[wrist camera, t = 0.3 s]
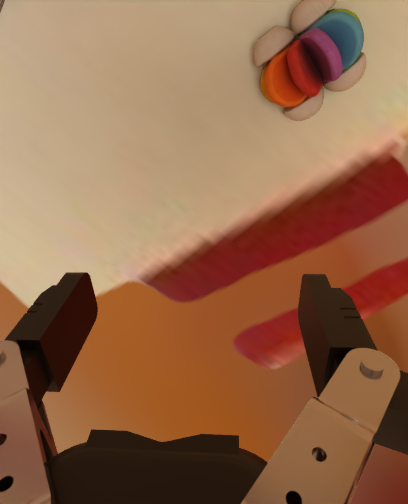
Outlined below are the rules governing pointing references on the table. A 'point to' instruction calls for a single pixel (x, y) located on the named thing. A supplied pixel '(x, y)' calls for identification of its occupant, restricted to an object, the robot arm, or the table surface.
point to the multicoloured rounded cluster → (310, 57)
